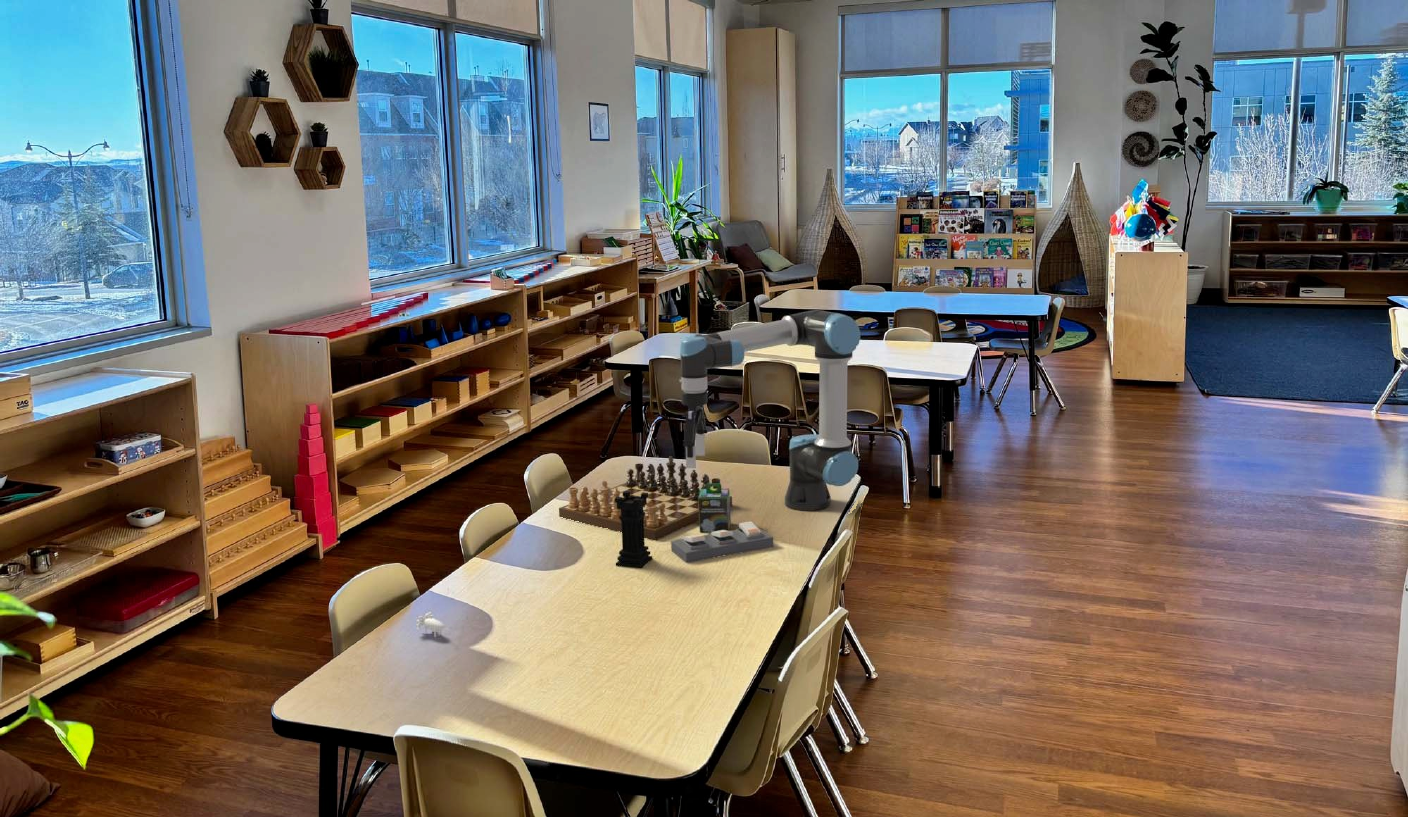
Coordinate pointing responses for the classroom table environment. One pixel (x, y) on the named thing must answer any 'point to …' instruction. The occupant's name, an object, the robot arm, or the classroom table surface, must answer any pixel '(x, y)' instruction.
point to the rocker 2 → (749, 528)
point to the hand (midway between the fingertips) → (695, 461)
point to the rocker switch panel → (720, 545)
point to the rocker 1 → (694, 538)
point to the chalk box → (714, 508)
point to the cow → (430, 623)
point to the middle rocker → (722, 533)
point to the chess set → (663, 510)
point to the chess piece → (632, 531)
